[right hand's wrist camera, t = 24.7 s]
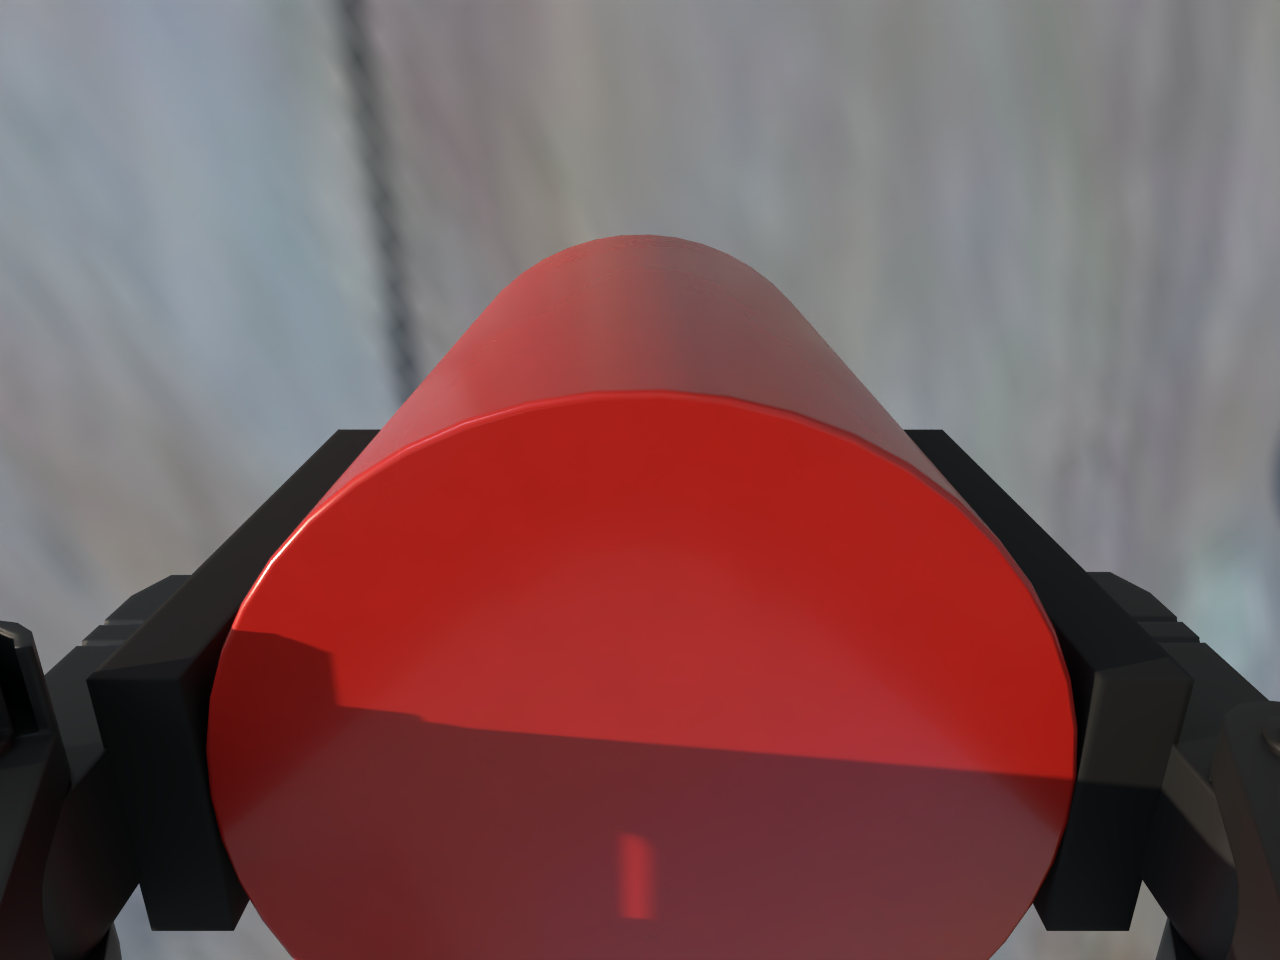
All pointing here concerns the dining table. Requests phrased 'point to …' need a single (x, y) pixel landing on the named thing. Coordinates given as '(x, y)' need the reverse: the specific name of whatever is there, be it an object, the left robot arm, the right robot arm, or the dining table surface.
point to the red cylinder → (642, 656)
